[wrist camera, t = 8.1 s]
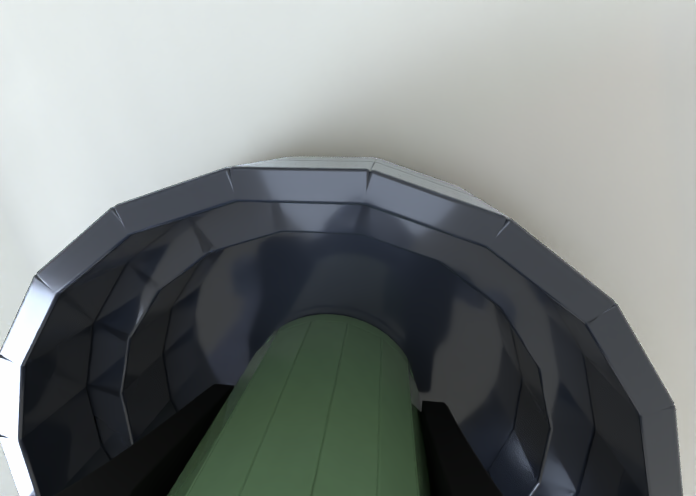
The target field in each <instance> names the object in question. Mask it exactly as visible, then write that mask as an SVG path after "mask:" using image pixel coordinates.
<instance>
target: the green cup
mask: <svg viewBox="0 0 696 496" xmlns="http://www.w3.org/2000/svg"><path fill="white" fill-rule="evenodd" d="M167 496H432V494H431V486H430V478H429V470H428V462H427V454H426V447H425V439H424V431H423V423H422V415H421V406H420V398H419V391H418V388H417V386H416V380H415V375H414V372H413V369H412V366H411V364H410V362H409V360H408V358H407V357H406V355H405V354H404V352H403V351H402V349H401V348H400V347H399V346H398V345H397V344H396V343H395V341H393V340H392V339H391V338H390V337H389V336H388V335H387V334H385V333H384V332H382V331H381V330H379V329H378V328H376V327H375V326H373V325H371V324H369V323H367V322H364V321H361V320H359V319H356V318H352V317H348V316H344V315H336V314H318V315H310V316H306V317H302V318H298V319H296V320H293V321H291V322H289V323H287V324H285V325H283V326H282V327H280V328H279V329H277V330H276V331H275V332H273V333H272V334H271V335H270V336H269V337H268V338H267V339H266V340H265V342H264V343H263V345H262V346H261V348H260V349H259V350H257V352H256V353H255V355H254V356H253V358H252V359H251V361H250V363H249V364H248V366H247V368H246V369H245V371H244V372H243V374H242V376H241V377H240V379H239V380H238V382H237V384H236V385H235V387H234V389H233V390H232V392H231V393H230V395H229V397H228V398H227V400H226V401H225V403H224V405H223V406H222V408H221V410H220V411H219V413H218V414H217V416H216V418H215V419H214V421H213V422H212V424H211V426H210V427H209V429H208V431H207V432H206V434H205V435H204V437H203V439H202V440H201V442H200V443H199V445H198V447H197V448H196V450H195V452H194V453H193V455H192V456H191V458H190V460H189V461H188V463H187V464H186V466H185V468H184V469H183V471H182V473H181V474H180V476H179V477H178V479H177V481H176V482H175V484H174V486H173V487H172V489H171V490H170V492H169V494H168V495H167Z"/></svg>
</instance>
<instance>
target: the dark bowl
mask: <svg viewBox="0 0 696 496" xmlns="http://www.w3.org/2000/svg"><path fill="white" fill-rule="evenodd" d="M318 314H336V315H344V316H348V317H352V318H356V319H359V320H361V321H364V322H367V323H369V324H371V325H373V326H375V327H376V328H378V329H379V330H381V331H382V332H384V333H385V334H387V335H388V336H389V337H390V338H391V339H392V340H393V341H395V343H396V344H397V345H398V346H399V347H400V348H401V349H402V351H403V352H404V354H405V355H406V357H407V358H408V360H409V362H410V364H411V366H412V369H413V372H414V375H415V380H416V386H417V388H418V391H419V398H420V406H421V409H422V401H434V402H445V404H446V405H447V406H448V407H449V409H450V411H451V413H452V415H453V417H454V419H455V421H456V422H457V424H458V426H459V428H460V429H461V431H462V433H463V435H464V436H465V438H466V440H467V441H468V443H469V445H470V446H471V448H472V449H473V451H474V453H475V454H476V456H477V457H478V459H479V460H480V462H481V463H482V465H483V466H484V468H485V469H486V471H487V473H488V474H489V476H490V477H491V478H492V480H493V481H494V483H495V484H496V486H497V487H498V489H499V490H500V491H501V493H502V494H503V495H504V496H683V490H682V478H681V467H680V455H679V444H678V432H677V420H676V409H675V406H674V402H673V400H672V398H671V397H670V395H669V393H668V391H667V390H666V388H665V386H664V384H663V383H662V381H661V379H660V377H659V376H658V374H657V372H656V370H655V369H654V367H653V365H652V364H651V362H650V360H649V358H648V357H647V355H646V353H645V351H644V350H643V348H642V346H641V344H640V343H639V341H638V339H637V337H636V336H635V334H634V332H633V330H632V329H631V327H630V325H629V324H628V322H627V320H626V318H625V317H624V315H623V313H622V311H621V310H620V308H619V306H618V304H616V303H615V302H614V300H613V299H612V298H610V297H609V296H608V295H607V294H605V293H604V292H603V291H601V290H600V289H599V288H598V287H596V286H595V285H594V284H593V283H591V282H590V281H589V280H588V279H586V278H585V277H584V276H583V275H581V274H580V273H579V272H578V271H576V270H575V269H574V268H573V267H571V266H570V265H569V264H567V263H566V262H565V261H564V260H562V259H561V258H560V257H559V256H557V255H556V254H555V253H554V252H552V251H551V250H550V249H549V248H547V247H546V246H545V245H544V244H542V243H541V242H540V241H539V240H537V239H536V238H535V237H533V236H532V235H531V234H530V233H528V232H527V231H526V230H525V229H523V228H522V227H521V226H520V225H518V224H517V223H516V222H515V221H513V220H512V219H511V218H509V217H507V216H506V215H504V214H503V213H501V212H500V211H498V210H496V209H495V208H493V207H492V206H490V205H489V204H487V203H485V202H484V201H482V200H480V199H479V198H477V197H476V196H474V195H473V194H471V193H469V192H468V191H466V190H465V189H463V188H461V187H460V186H457V185H454V184H451V183H448V182H446V181H443V180H440V179H437V178H434V177H431V176H428V175H426V174H423V173H420V172H417V171H414V170H411V169H409V168H406V167H403V166H400V165H397V164H394V163H391V162H389V161H386V160H383V159H380V158H377V159H376V158H375V157H315V156H290V157H283V158H277V159H271V160H265V161H260V162H254V163H248V164H242V165H236V166H230V167H225V168H222V169H219V170H216V171H213V172H210V173H207V174H204V175H201V176H198V177H196V178H193V179H190V180H187V181H184V182H181V183H178V184H175V185H172V186H169V187H166V188H163V189H160V190H157V191H154V192H151V193H148V194H145V195H143V196H140V197H137V198H134V199H131V200H128V201H125V202H122V203H119V204H117V205H116V206H115V207H112V208H110V209H109V210H108V211H107V212H105V213H104V214H103V215H102V216H101V217H100V218H99V219H97V220H96V221H95V222H94V223H93V224H92V225H91V226H89V227H88V228H87V229H86V230H85V231H84V232H83V233H81V234H80V235H79V236H78V237H77V238H76V239H75V240H73V241H72V242H71V243H70V244H69V245H68V246H66V247H65V248H64V249H63V250H62V251H61V252H60V253H58V254H57V255H56V256H55V257H54V258H53V259H52V260H50V261H49V262H48V263H47V264H46V265H45V266H44V267H42V268H41V269H40V270H39V271H38V272H37V274H36V275H35V276H34V277H33V279H32V282H31V284H30V286H29V288H28V290H27V293H26V295H25V297H24V299H23V301H22V304H21V306H20V308H19V310H18V312H17V315H16V317H15V319H14V321H13V323H12V326H11V328H10V330H9V332H8V334H7V337H6V339H5V341H4V343H3V345H2V348H1V350H0V442H1V445H2V448H3V451H4V454H5V457H6V459H7V462H8V465H9V468H10V471H11V474H12V476H13V479H14V482H15V485H16V488H17V491H18V494H19V496H54V495H55V494H57V493H59V492H61V491H62V490H64V489H65V488H67V487H69V486H70V485H72V484H74V483H75V482H77V481H79V480H80V479H82V478H84V477H85V476H87V475H88V474H90V473H92V472H93V471H95V470H96V469H98V468H99V467H101V466H102V465H104V464H105V463H107V462H108V461H110V460H111V459H113V458H114V457H116V456H117V455H119V454H120V453H121V452H123V451H124V450H126V449H127V448H129V447H130V446H131V445H133V444H134V443H136V442H137V441H139V440H140V439H141V438H143V437H144V436H146V435H147V434H149V433H150V432H151V431H153V430H154V429H155V428H157V427H158V426H159V425H161V424H162V423H163V422H165V421H166V420H167V419H169V418H170V417H171V416H173V415H174V414H175V413H177V412H178V411H179V410H180V409H182V408H183V407H184V406H186V405H187V404H188V403H190V402H191V401H192V400H193V399H195V398H196V397H197V396H199V395H200V394H201V393H203V392H204V391H205V390H207V389H208V388H209V387H211V386H212V385H213V384H223V385H234V387H235V385H236V384H237V382H238V380H239V379H240V377H241V376H242V374H243V372H244V371H245V369H246V368H247V366H248V364H249V363H250V361H251V359H252V358H253V356H254V355H255V353H256V352H257V350H259V349H260V348H261V346H262V345H263V343H264V342H265V340H266V339H267V338H268V337H269V336H270V335H271V334H272V333H273V332H275V331H276V330H277V329H279V328H280V327H282V326H283V325H285V324H287V323H289V322H291V321H293V320H296V319H298V318H302V317H306V316H310V315H318Z"/></svg>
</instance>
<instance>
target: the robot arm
mask: <svg viewBox="0 0 696 496" xmlns="http://www.w3.org/2000/svg"><path fill="white" fill-rule="evenodd" d="M233 389H234V385H223V384H213V385H212V386H211V387H209V388H208V389H207V390H205V391H204V392H203V393H201V394H200V395H199V396H197V397H196V398H195V399H193V400H192V401H191V402H190V403H188V404H187V405H186V406H184V407H183V408H182V409H180V410H179V411H178V412H177V413H175V414H174V415H173V416H171V417H170V418H169V419H167V420H166V421H165V422H163V423H162V424H161V425H159V426H158V427H157V428H155V429H154V430H153V431H151V432H150V433H149V434H147V435H146V436H144V437H143V438H141V439H140V440H139V441H137V442H136V443H134V444H133V445H131V446H130V447H129V448H127V449H126V450H124V451H123V452H121V453H120V454H119V455H117V456H116V457H114V458H113V459H111V460H110V461H108V462H107V463H105V464H104V465H102V466H101V467H99V468H98V469H96V470H95V471H93V472H92V473H90V474H88V475H87V476H85V477H84V478H82V479H80V480H79V481H77V482H75V483H74V484H72V485H70V486H69V487H67V488H65V489H64V490H62V491H61V492H59V493H57V494H55V495H54V496H167V495H168V494H169V492H170V490H171V489H172V487H173V486H174V484H175V482H176V481H177V479H178V477H179V476H180V474H181V473H182V471H183V469H184V468H185V466H186V464H187V463H188V461H189V460H190V458H191V456H192V455H193V453H194V452H195V450H196V448H197V447H198V445H199V443H200V442H201V440H202V439H203V437H204V435H205V434H206V432H207V431H208V429H209V427H210V426H211V424H212V422H213V421H214V419H215V418H216V416H217V414H218V413H219V411H220V410H221V408H222V406H223V405H224V403H225V401H226V400H227V398H228V397H229V395H230V393H231V392H232V390H233ZM421 415H422V423H423V431H424V439H425V447H426V454H427V462H428V470H429V478H430V486H431V494H432V496H504V495H503V494H502V493H501V491H500V490H499V489H498V487H497V486H496V484H495V483H494V481H493V480H492V478H491V477H490V476H489V474H488V473H487V471H486V469H485V468H484V466H483V465H482V463H481V462H480V460H479V459H478V457H477V456H476V454H475V453H474V451H473V449H472V448H471V446H470V445H469V443H468V441H467V440H466V438H465V436H464V435H463V433H462V431H461V429H460V428H459V426H458V424H457V422H456V421H455V419H454V417H453V415H452V413H451V411H450V409H449V407H448V406H447V405H446V404H445V402H434V401H422V409H421Z"/></svg>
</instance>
